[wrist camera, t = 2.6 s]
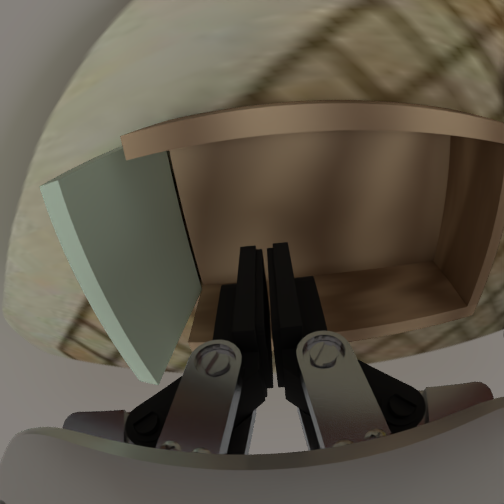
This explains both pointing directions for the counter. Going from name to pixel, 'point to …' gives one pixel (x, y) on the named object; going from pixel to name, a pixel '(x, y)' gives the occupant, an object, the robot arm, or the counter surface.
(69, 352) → the counter surface
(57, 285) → the counter surface
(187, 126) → the crate
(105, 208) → the panel
